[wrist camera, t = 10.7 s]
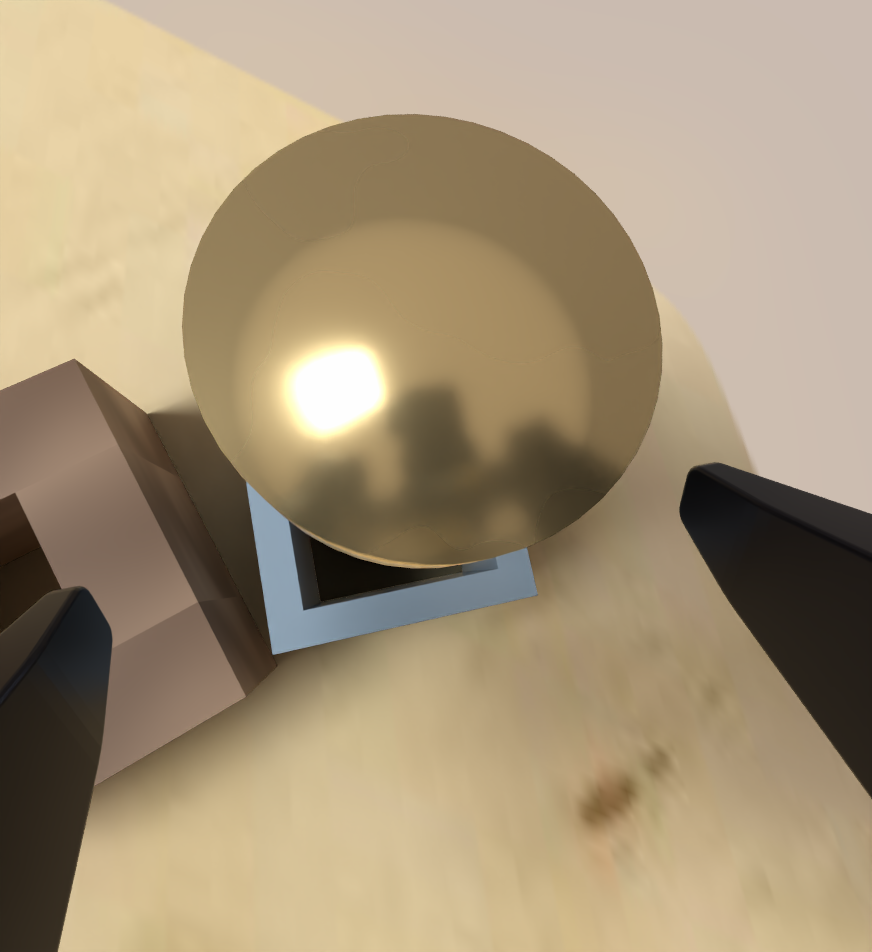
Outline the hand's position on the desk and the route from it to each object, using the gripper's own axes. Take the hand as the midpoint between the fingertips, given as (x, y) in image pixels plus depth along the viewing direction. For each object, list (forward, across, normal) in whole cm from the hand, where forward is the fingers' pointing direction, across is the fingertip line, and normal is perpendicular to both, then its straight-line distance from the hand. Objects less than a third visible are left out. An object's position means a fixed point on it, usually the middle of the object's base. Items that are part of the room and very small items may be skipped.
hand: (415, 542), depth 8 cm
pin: (+8, 0, +6) cm, 10 cm away
